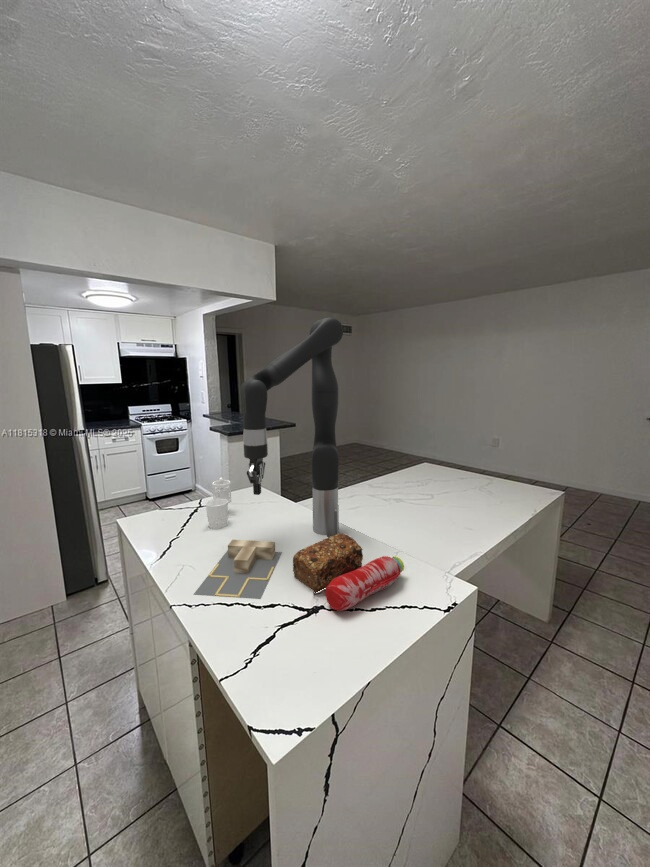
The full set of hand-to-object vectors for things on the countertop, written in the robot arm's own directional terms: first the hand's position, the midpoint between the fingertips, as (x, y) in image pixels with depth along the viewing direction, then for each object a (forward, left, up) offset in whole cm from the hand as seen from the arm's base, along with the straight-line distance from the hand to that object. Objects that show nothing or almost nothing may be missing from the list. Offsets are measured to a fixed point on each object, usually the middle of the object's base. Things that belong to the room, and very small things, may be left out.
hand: (257, 493), depth 117 cm
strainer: (+23, -25, -19) cm, 39 cm away
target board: (0, +17, -18) cm, 25 cm away
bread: (-25, +15, -19) cm, 35 cm away
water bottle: (-35, +21, -19) cm, 45 cm away
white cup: (+20, -13, -19) cm, 30 cm away
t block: (0, +12, -17) cm, 21 cm away
